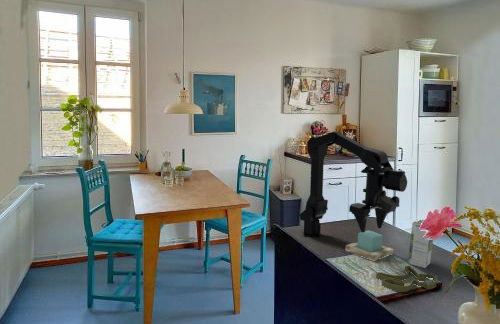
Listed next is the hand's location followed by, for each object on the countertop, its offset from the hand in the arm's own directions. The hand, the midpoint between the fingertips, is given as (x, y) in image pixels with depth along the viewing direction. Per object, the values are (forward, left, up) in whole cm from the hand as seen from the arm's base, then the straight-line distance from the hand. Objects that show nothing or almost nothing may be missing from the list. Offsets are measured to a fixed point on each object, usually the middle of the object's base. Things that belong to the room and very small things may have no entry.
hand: (371, 230), depth 133 cm
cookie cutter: (+4, -23, -9) cm, 25 cm away
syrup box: (+14, -9, -9) cm, 19 cm away
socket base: (0, 0, -8) cm, 8 cm away
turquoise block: (0, 0, -8) cm, 9 cm away
